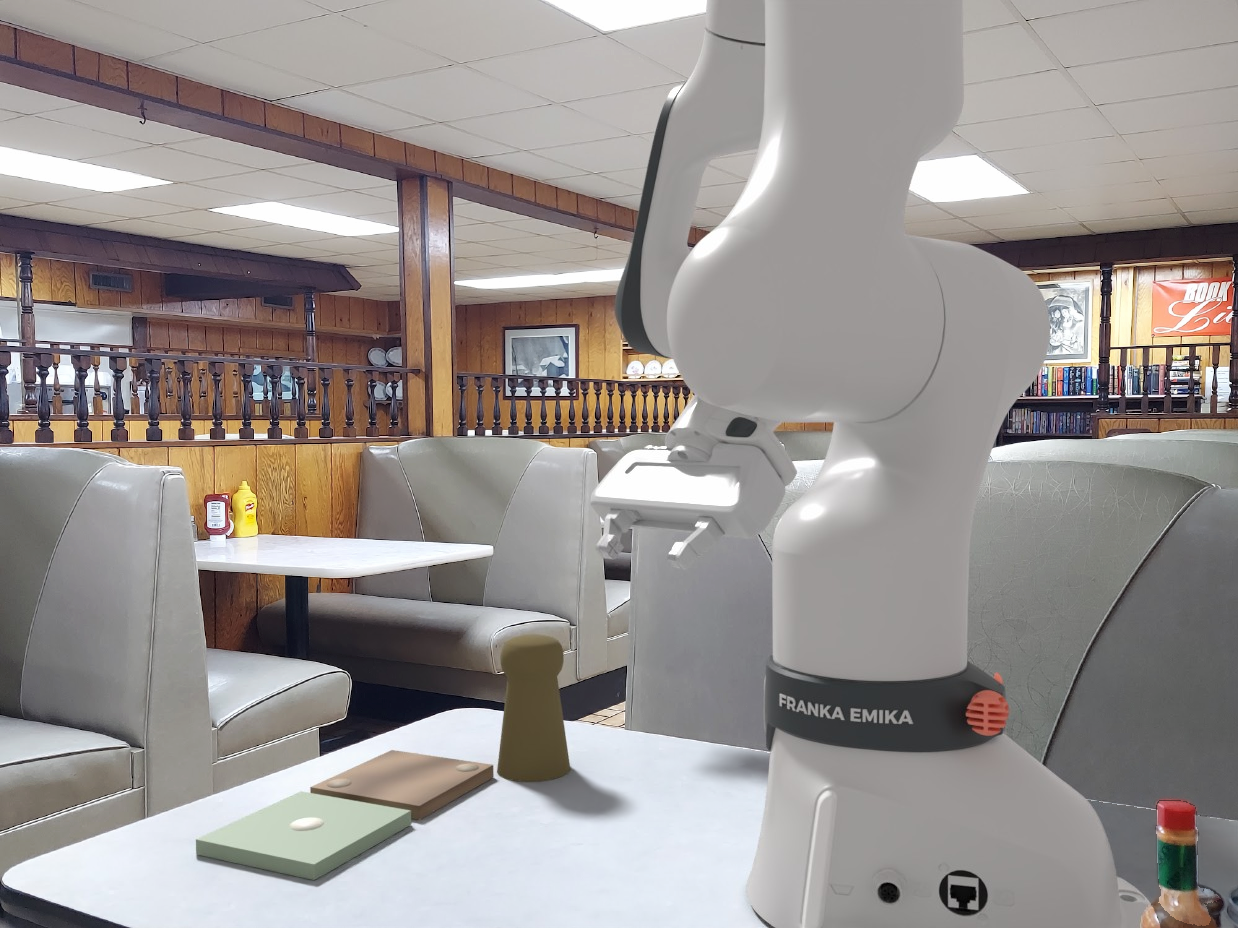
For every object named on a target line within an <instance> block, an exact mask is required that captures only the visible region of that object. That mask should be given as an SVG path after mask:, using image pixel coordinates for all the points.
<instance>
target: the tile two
mask: <svg viewBox="0 0 1238 928" xmlns="http://www.w3.org/2000/svg"><path fill="white" fill-rule="evenodd" d="M494 777H495V776H494V764H491V763H482V762H477V761H471V760H464V759H457V758H450V757H443V756H435V755H430V754H422V753H415V752H408V751H402V750H397V749H396V750H395V749H391V750H389V751H386V752H384V753H382V754H380V755H378V756H376V757H375V756H374V757H373V758H371V759H369V760H366V761H365V762H363V763H360V764H358V765H356V766H354V767H352V768H349V769H347V770H346V771H345V770H344V771H343V772H340V773H338V774H336V775H333V776H331V777H329V778H327V779H325V780H323V781H320V782H318V783H316V784H314V785H312V786H310V787H309V789H310V790H309V791H310V792H309V793H313V794H319V795H325V796H331V797H336V798H342V799H348V800H353V801H359V802H365V803H371V804H376V805H382V806H388V807H393V808H399V809H405V810H411V819H415V820H419V821H420V820H422V819H424V818H425V817H427V816H429V815H430V814H432V813H434V812H436V811H437V810H439V809H440V808H441V809H442V807H444V806H446V805H448V804H450V803H451V802H452V801H455V800H457V799H458V798H459V797H461V796H463V795H465V794H467V793H468V792H470V791H472V790H473V789H476V788H477V787H479V786H480V785H482V784H484V783H486V782H488V781H490V780H491V779H493V778H494Z"/></svg>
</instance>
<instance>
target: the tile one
mask: <svg viewBox="0 0 1238 928" xmlns="http://www.w3.org/2000/svg"><path fill="white" fill-rule="evenodd" d="M409 826H412V818H411V810H405V809H399V808H393V807H388V806H382V805H376V804H371V803H365V802H359V801H353V800H348V799H342V798H336V797H331V796H325V795H319V794H313V793H310V792H306V791H301V790H300V791H299V792H297V793H294V794H292V795H290V796H288V797H286V798H284V799H282V800H279V801H277V802H275V803H272V804H271V805H269V806H268V805H267V806H266V807H263V808H261V809H260V810H257V811H254V812H253V813H250V814H249V815H246V816H244V817H241V818H239V819H237V820H235V821H232V822H231V823H228V824H226V825H224V826H222V827H219V828H218V829H216V830H213V831H211V832H209V833H206V834H204V835H202V836H200V837H197V838H195V855H198V856H203V857H207V858H211V859H216V860H220V861H221V860H222V861H226V862H230V863H234V864H238V865H242V866H243V865H245V866H248V867H253V868H258V869H262V870H266V871H271V872H274V873H275V872H276V873H280V874H285V875H289V876H294V877H297V878H302V879H306V880H311V881H315V880H317V879H319V878H320V877H323V876H325V875H326V874H328V873H329V872H331V871H333V870H335V869H336V868H338V867H340V866H342V865H343V864H345V863H347V862H349V861H350V860H352V859H354V858H356V857H357V856H359V855H360V854H363V853H364V852H366V851H368V850H369V849H371V848H373V847H374V846H377V845H378V844H380V843H382V842H383V841H384V840H387V839H390V837H392V836H394V835H395V834H397V833H399V832H401V831H402V830H404V829H406V828H408V827H409Z"/></svg>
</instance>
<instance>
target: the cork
mask: <svg viewBox="0 0 1238 928" xmlns="http://www.w3.org/2000/svg"><path fill="white" fill-rule="evenodd" d="M563 649H564V648H563V646H562V644H561V642H560V640H558V639H556V638H555V637H553V636H550V635H545V634H535V633H534V634H524V635H523V634H521V635H518V636H515V637H511V638H509V639H508V640H506V641H505V642H504V644H503V646H502V648H501V652H500V667H501V671H502V672H503V673H504V674H505V677H506V679H507V682H506V688H505V689H506V690H505V700H504V706H503V707H504V709H503V716H502V724H501V733H500V743H499V753H498V759H497V760H498V761H497V769H496V773H497V775H499V777H500V778H504V779H506V780H509V781H514V782H524V783H529V782H530V783H532V782H544V781H545V782H546V781H551V780H555V779H559V778H561V777H563V776H565V775H567V774H568V773H569V772H570V771H571V763H570V757H569V750H568V743H567V737H566V729H565V721H564V715H563V708H562V701H561V694H560V693H561V692H560V687H559V681H558V677H559V674H560V673H561V671H562V669H563V666H564V661H565V660H564V655H565V653H564V650H563Z"/></svg>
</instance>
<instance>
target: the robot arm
mask: <svg viewBox="0 0 1238 928" xmlns="http://www.w3.org/2000/svg"><path fill="white" fill-rule="evenodd" d="M963 11H964V9H963V0H706V8H705V18H704V19H705V20H704V33H703V41H702V45H701V50H700V53H699V56H698V60H697V61H696V64H695V67H694V68H693V71H692V72H691V75H690V76H689V78H688V79H686V80H684V81H682V82H679V83H678V84H676V85H675V86H673V88H672V89H671V90H670V92H669V93H668V95H667V96H666V99H665V101H664V104H663V105H662V109H661V111H660V114H659V117H658V120H657V124H656V129H655V132H654V135H653V139H652V140H653V141H652V144H651V148H650V153H649V158H648V162H647V166H646V172H645V177H644V182H643V187H642V191H641V197H640V202H639V207H638V210H637V211H638V212H637V217H636V222H635V226H634V231H633V236H632V241H631V247H630V251H629V255H628V258H627V261H626V262H625V263H626V264H625V265H624V269H623V272H622V275H621V277H620V281H619V284H618V287H617V290H616V295H615V300H614V315H615V319H616V323H617V325H618V327H619V330H620V332H621V334H622V335H623V338H624V339H625V341H626V342H627V344H628V345H629V347H630V348H631V349H633V351H635V352H638V353H642V354H647V355H651V356H654V357H655V356H656V357H661V358H665V359H672V360H673V363H674V364H675V367H676V369H677V371H678V372H679V375H680V377H681V378H682V380H683V382H684V383H685V385H686V386H687V387H688V388H689V390H690V391H691V392H692V393H693V394H694V395H693V396H692V397H691V398H690V400H689V401H688V403H687V404H686V405H685V407H684V408H683V410H682V412H681V413H680V415H678V417H677V418H676V420H675V421H674V423H673V425H672V426H671V428H670V429H669V430H668V431H667V433H666V435H665V439H664V444H665V445H663V446H656V445H646V446H644V447H643V448H642V449H636V450H631V451H630V452H628V453H627V454H625V455H624V456H622V458H620V459H619V460H618V461H617V463H616V464H615V465H613V467H612V468H611V469H610V470H609V471H607V473H606V474H605V476H604V477H603V478H602V480H601V481H600V482H599V483H598V485H596V486H595V488H594V489H593V491H592V493H591V494H590V506H591V507H592V508H593V509H594V511H595V512H596V514H597V515H598V516H599V517H600V519H601V520H602V521H603V522H604V525H603V532H602V533H603V535H602V536H601V537H600V539H599V540H598V542H597V543H596V545H595V551H596V552H597V553H598V555H599V556H600V557H601V558H602V559H607V560H616V559H618V557H619V554H621V553H622V551H623V549H625V546H624V545H623V544H622V543H621V539H622V535H623V534H626V533H628V531H629V530H630V529H631V528H638V529H650V530H657V531H658V530H660V531H668V532H677V533H688V534H690V535H689V536H688V537H687V538H686V539H684V540H683V541H675V542H674V544H673V546H672V548H671V550H670V551H669V552H668V554H667V561H668V562H669V563H670V564H671V566H672V568H675V569H679V570H685V571H686V570H687V571H689V570H690V569H691V568H692V566H693V564H694V563H695V561H696V560H697V559H698V558H699V557H700V556H701V555H703V554H705V553H706V552H707V551H709V550H710V549H711V548H713V547H714V546H716V545H717V544H718V543H719V542H720V541H721V539H722V537H727V538H728V537H729V538H738V539H745V540H751V539H753V538H755V537H757V536H758V535H760V534H761V533H763V532H764V531H765V530H766V529H767V528H768V526H769V525H770V523H771V522H772V519H773V518H774V517H775V515H776V513H777V511H778V509H779V508H780V506H781V504H782V502H783V500H784V498H785V495H786V489H787V488H786V487H787V486H789V485H790V484H791V483H793V481H794V480H795V478H796V476H797V474H798V470H797V468H796V466H795V465H794V464H795V463H794V462H793V461H792V459H791V457H790V456H789V453H788V452H787V450H786V449H785V447H784V446H783V444H782V443H781V441H780V440H779V439H778V437H777V436H776V434H775V433H774V431H775V430H776V429H777V428H778V427H779V426H780V425H782V423H833V426H832V428H833V429H832V433H831V437H830V442H829V446H828V449H827V451H826V455H825V458H824V460H823V464H822V466H821V468H820V470H819V472H818V474H817V476H816V477H815V480H814V481H813V483H812V484H811V485H810V486H809V488H808V489H807V490H806V492H805V493H803V495H801V496H800V497H799V498H798V499H797V500H795V501H794V502H793V503H792V504H790V506H789V507H788V508H787V509H785V511H784V512H783V514H782V515H781V517H780V518H779V521H778V522H777V523H776V526H775V529H774V532H773V537H772V543H771V551H772V552H771V556H772V557H771V559H772V560H771V561H772V564H771V565H772V566H771V567H772V569H771V570H772V573H771V574H772V578H771V579H772V580H771V581H772V583H771V586H772V587H771V588H772V591H771V592H772V596H771V597H772V599H771V600H772V601H771V602H772V603H771V604H772V655H771V654H770V655H769V656H767V658H766V660H765V676H764V679H763V680H764V682H763V693H762V695H763V696H762V697H763V699H762V703H763V706H762V707H763V709H762V710H763V711H762V713H763V714H762V715H763V716H762V717H763V728H764V732H765V745H766V747H765V748H766V749H767V751H768V752H769V762H768V763H769V765H768V773H767V774H768V775H767V784H766V793H765V800H764V808H763V814H762V820H761V825H760V826H761V828H760V833H759V837H758V838H759V839H758V843H757V848H756V851H755V856H754V858H753V863H752V865H751V870H750V873H749V876H748V879H747V883H746V887H745V888H746V889H745V893H746V898H747V900H748V902H749V904H750V906H751V907H752V909H753V910H754V912H755V913H757V914H758V915H759V917H760V918H762V919H763V920H764V921H766V922H767V923H768V924H769V925H770V926H772V927H773V928H1140V923H1141V916H1142V915H1143V912H1144V910H1145V909H1146V907H1148V905H1149V904H1152V903H1151V901H1149V899H1148V898H1147V896H1145V894H1144V893H1142V892H1141V891H1140V890H1139V889H1138V888H1137V887H1136V886H1134V885H1132V884H1131V883H1130V882H1128V880H1127V881H1126V880H1125V879H1123V878H1122V877H1119V876H1117V870H1116V866H1115V865H1116V864H1115V860H1114V856H1113V852H1112V847H1111V844H1110V841H1109V838H1108V836H1107V832H1106V830H1105V827H1104V826H1103V823H1102V820H1101V819H1100V817H1099V815H1098V813H1097V812H1096V810H1095V809H1094V807H1093V806H1092V804H1091V803H1090V802H1089V800H1087V798H1085V796H1084V795H1082V794H1081V793H1079V792H1078V791H1077V790H1076V789H1074V788H1073V787H1072V786H1071V785H1070V784H1068V783H1067V782H1065V781H1064V780H1062V779H1061V777H1059V776H1058V775H1056V774H1055V773H1054V772H1052V771H1051V770H1050V769H1049V768H1048V767H1046V766H1045V765H1044V764H1043V763H1041V762H1040V761H1039V760H1038V759H1036V758H1035V757H1034V756H1032V755H1031V754H1030V753H1029V752H1027V751H1026V749H1024V748H1023V747H1021V746H1020V745H1019V744H1017V743H1016V742H1015V740H1013V739H1011V738H1010V737H1009V736H1008V735H1007V734H1005V733H1004V732H1005V728H1006V724H1007V722H1006V721H1007V719H1008V718H1009V715H1010V707H1009V704H1008V702H1007V697H1006V686H1004V684H1003V683H1004V681H1003V677H1002V676H1001V674H1000V673H999V672H995V673H994V676H993V677H992V676H991V675H990V674H988V673H987V672H985V671H984V670H983V669H981V668H980V667H978V666H976V665H975V664H974V663H972V662H970V661H969V660H968V626H969V625H968V622H969V617H968V615H969V613H968V612H969V610H968V609H969V606H968V605H969V579H970V577H969V573H970V570H969V569H970V547H971V536H972V527H973V523H974V522H973V520H974V516H975V515H974V514H975V510H976V506H977V501H978V498H979V493H980V489H981V485H982V481H983V478H984V475H985V472H986V468H987V465H988V463H989V459H990V456H991V453H992V450H993V448H994V445H995V442H996V439H997V436H998V435H999V432H1000V429H1001V426H1002V425H1003V423H1004V420H1005V418H1006V416H1007V415H1008V414H1009V413H1008V412H1009V411H1010V409H1011V408H1012V407H1013V405H1014V404H1015V403H1016V401H1017V400H1018V399H1019V398H1020V397H1021V396H1022V395H1023V394H1024V393H1025V392H1026V391H1027V390H1028V389H1029V387H1031V385H1032V384H1033V382H1034V381H1036V378H1037V377H1038V375H1039V373H1040V372H1041V370H1042V367H1043V365H1044V363H1045V360H1046V357H1047V355H1048V351H1049V350H1048V349H1049V345H1050V339H1051V320H1050V314H1049V309H1048V306H1047V303H1046V300H1045V298H1044V295H1043V293H1042V292H1041V290H1040V288H1039V287H1038V285H1037V284H1036V282H1035V280H1033V279H1032V278H1031V277H1030V276H1029V275H1028V274H1027V273H1025V272H1024V271H1023V270H1022V269H1020V268H1018V267H1016V266H1014V265H1012V264H1010V263H1009V262H1007V261H1005V260H1004V259H1002V258H1000V257H998V256H996V255H994V254H992V253H990V252H987V251H985V250H983V249H981V248H979V247H977V246H974V245H971V244H969V243H965V242H959V241H953V240H948V239H947V240H946V239H939V238H932V237H927V236H926V237H924V236H917V235H912V234H911V235H910V234H907V233H906V228H905V227H906V226H905V214H906V205H907V199H908V196H909V192H910V187H911V184H912V180H913V176H914V174H915V171H916V168H917V165H918V163H919V161H920V159H921V158H922V157H924V156H925V155H927V154H928V153H930V152H932V150H934V149H935V148H937V147H938V146H939V145H940V144H941V143H942V142H943V141H944V140H945V139H947V137H948V136H949V135H950V134H951V133H952V132H953V130H954V129H955V127H956V125H957V124H958V121H959V120H960V117H961V116H962V111H963V107H964V102H965V89H964V88H965V87H964V85H965V83H964V82H965V81H964V78H965V77H964V72H965V71H964V69H965V68H964V18H963V15H964V14H963ZM753 150H757V151H756V155H755V159H754V161H753V165H752V169H751V171H750V173H749V175H748V179H747V181H746V184H744V185H745V186H744V187H743V190H742V192H741V194H740V196H739V198H738V199H737V201H736V203H735V204H734V206H733V207H732V209H731V210H730V212H729V213H728V214H727V216H726V217H724V219H723V220H722V221H721V222H720V223H719V225H717V226H716V227H715V228H714V229H713V230H711V231H710V232H708V233H707V234H706V235H705V236H704V237H703V238H701V239H700V240H699V241H698V242H697V243H696V244H695V246H693V248H692V249H691V250H690V248H689V246H688V240H689V235H690V230H691V226H692V222H693V218H694V213H695V208H696V205H697V201H698V196H699V192H700V189H701V185H702V179H703V177H704V173H705V171H706V168H707V167H708V165H709V164H710V163H711V161H713V159H716V158H720V157H724V156H727V155H732V154H737V153H742V152H747V151H753Z"/></svg>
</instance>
